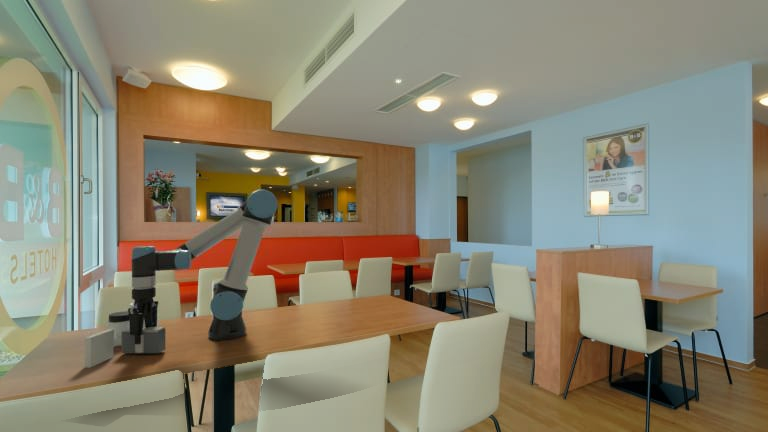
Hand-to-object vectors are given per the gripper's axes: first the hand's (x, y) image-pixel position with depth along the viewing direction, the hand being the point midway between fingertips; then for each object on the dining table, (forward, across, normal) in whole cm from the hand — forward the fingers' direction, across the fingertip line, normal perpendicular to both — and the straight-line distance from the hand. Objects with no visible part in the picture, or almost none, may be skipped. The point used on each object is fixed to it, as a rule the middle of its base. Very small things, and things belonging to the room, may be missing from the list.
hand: (143, 350), depth 137 cm
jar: (+1, -11, -18) cm, 21 cm away
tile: (+1, +9, -9) cm, 13 cm away
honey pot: (+1, -32, -23) cm, 40 cm away
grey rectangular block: (+1, 0, 0) cm, 1 cm away
